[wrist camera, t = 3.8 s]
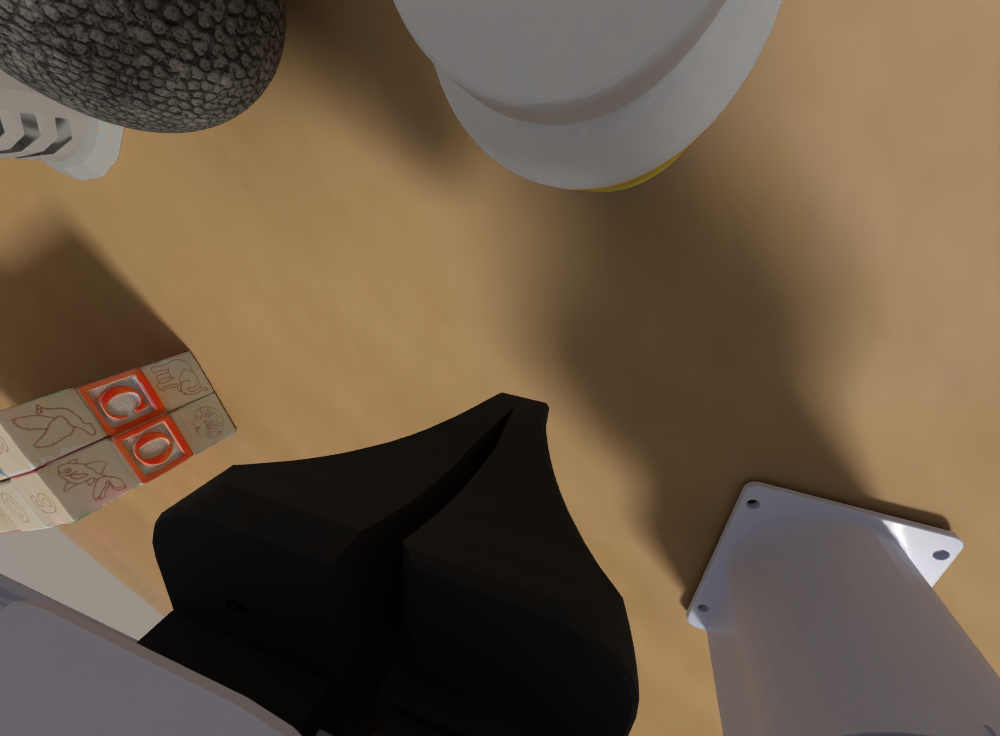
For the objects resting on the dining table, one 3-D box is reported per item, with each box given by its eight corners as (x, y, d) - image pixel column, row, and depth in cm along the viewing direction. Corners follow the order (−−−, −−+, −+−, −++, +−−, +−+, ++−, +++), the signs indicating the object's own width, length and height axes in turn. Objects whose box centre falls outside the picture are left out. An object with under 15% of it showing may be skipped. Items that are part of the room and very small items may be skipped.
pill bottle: (757, 81, 13) (1155, -297, 3) (603, 229, 16) (548, 285, 6) (624, -78, 13) (574, -1140, 3) (490, 105, 16) (227, -59, 6)
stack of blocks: (192, 345, 26) (-121, 451, 15) (241, 430, 28) (-10, 578, 17) (40, 406, 35) (-233, 502, 24) (85, 468, 36) (-151, 584, 25)
